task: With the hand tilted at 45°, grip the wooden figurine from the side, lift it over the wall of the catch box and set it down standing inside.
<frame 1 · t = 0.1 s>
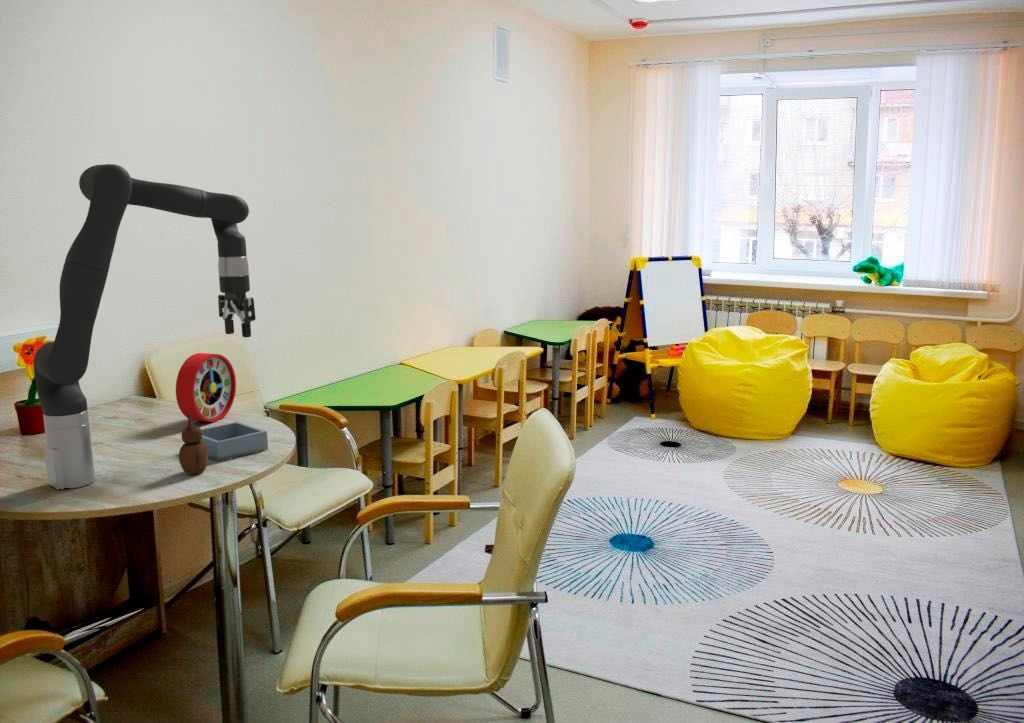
hand: (238, 335, 234), 29 cm above the table, tool pointing down, fingers open, 8 cm apart
toy clock: (209, 420, 264), on the table
catch box: (229, 450, 233), on the table
wooden figurine: (195, 473, 215), on the table
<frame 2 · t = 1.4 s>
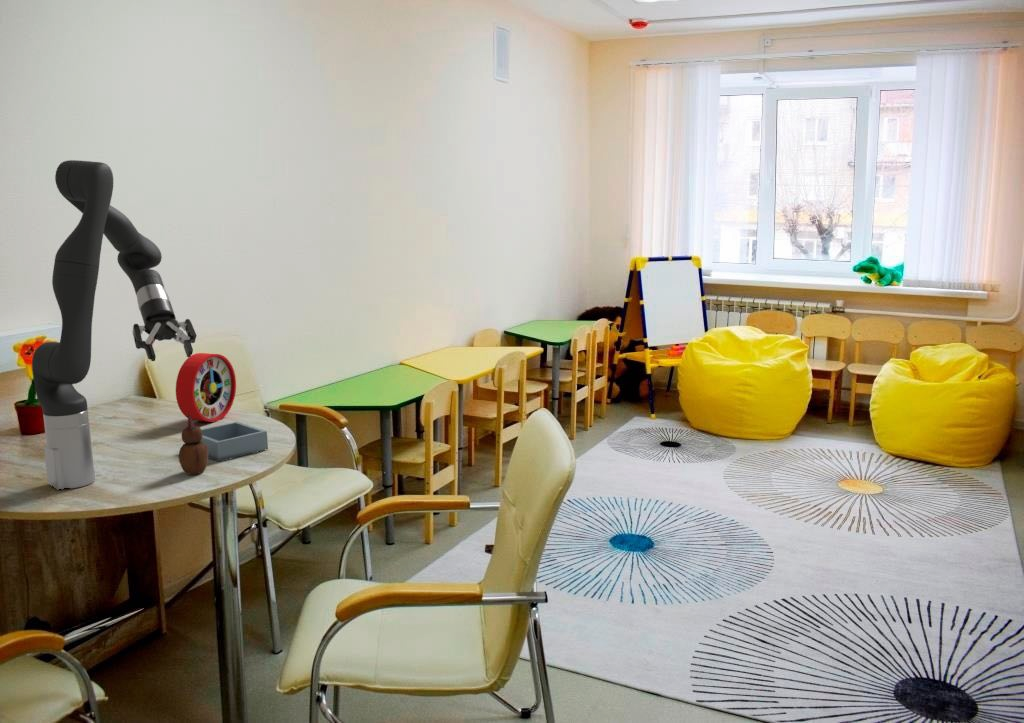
hand: (171, 357, 219), 27 cm above the table, tool tilted 45°, fingers open, 8 cm apart
nothing on the table moved.
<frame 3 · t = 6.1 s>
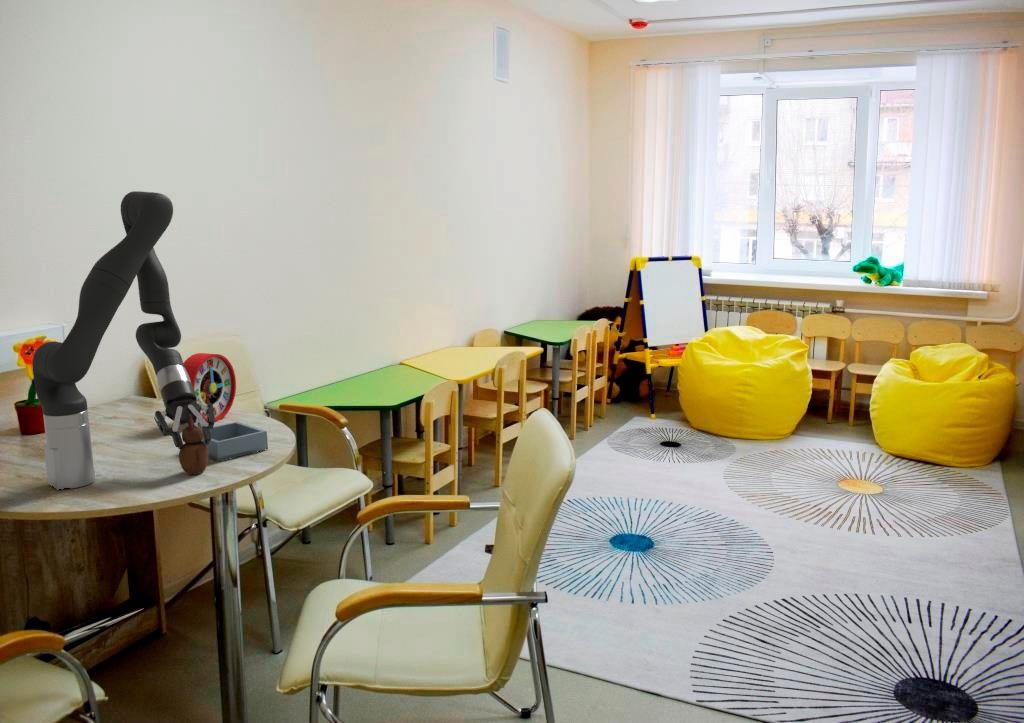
hand: (194, 444, 212), 7 cm above the table, tool tilted 45°, fingers closed on wooden figurine, 5 cm apart
wooden figurine: (195, 472, 215), on the table, touching gripper
everything else where it was.
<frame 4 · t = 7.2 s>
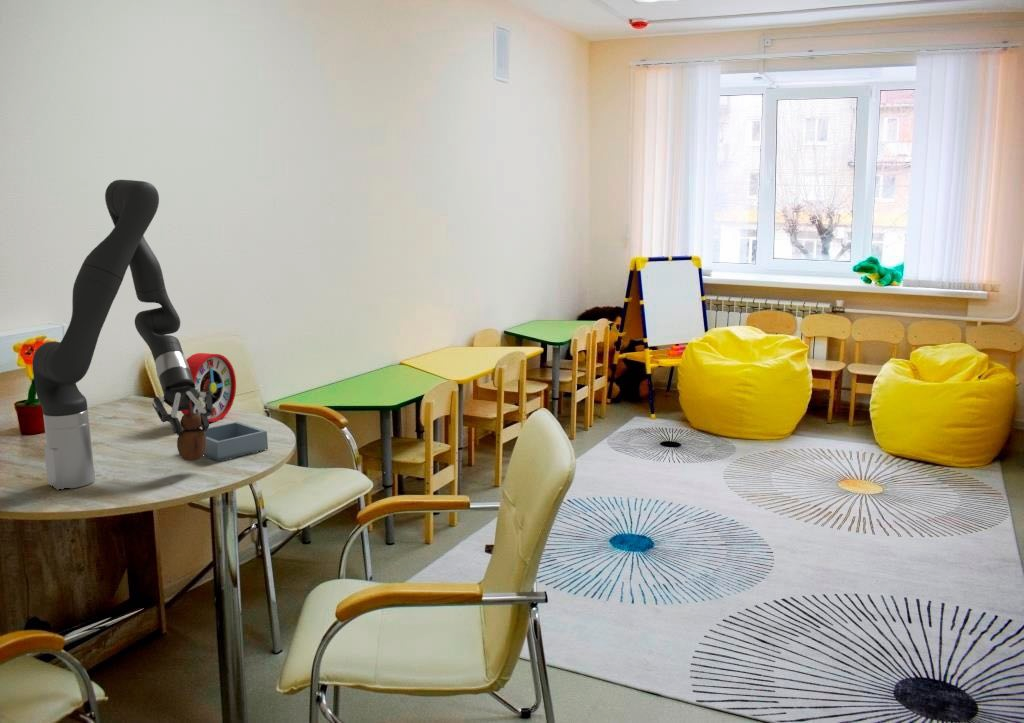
hand: (192, 431, 211), 11 cm above the table, tool tilted 45°, fingers closed on wooden figurine, 5 cm apart
wooden figurine: (192, 460, 214), point 3 cm above the table, touching gripper
everything else where it was.
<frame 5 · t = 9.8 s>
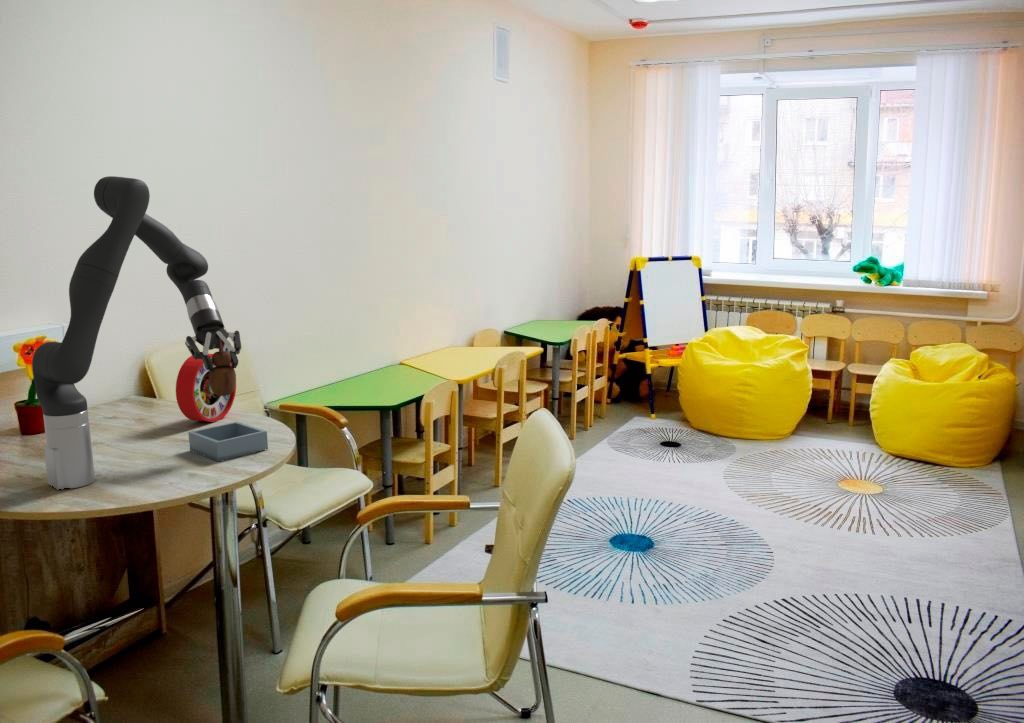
hand: (223, 367, 226), 22 cm above the table, tool tilted 45°, fingers closed on wooden figurine, 5 cm apart
wooden figurine: (223, 395, 229), point 15 cm above the table, touching gripper
everything else where it was.
when the fingers open (10 cm above the table, at t = 12.9 s): wooden figurine drops 1 cm, resting on catch box.
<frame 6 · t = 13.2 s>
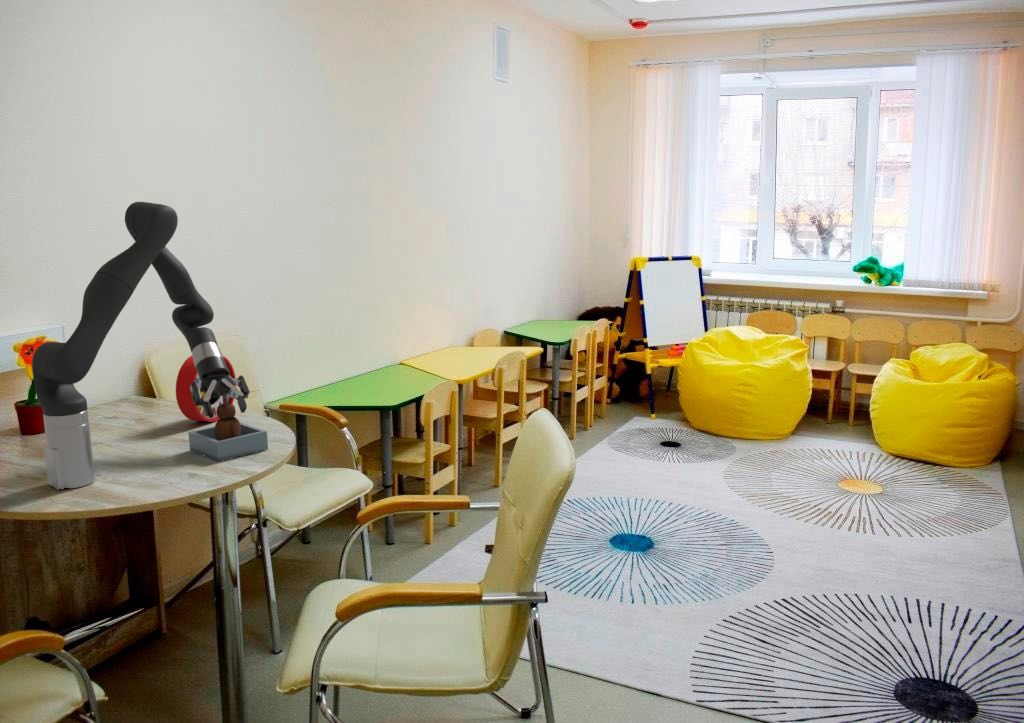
hand: (227, 413, 230), 10 cm above the table, tool tilted 45°, fingers open, 8 cm apart
wooden figurine: (229, 446, 233), point 1 cm above the table, touching catch box
everything else where it was.
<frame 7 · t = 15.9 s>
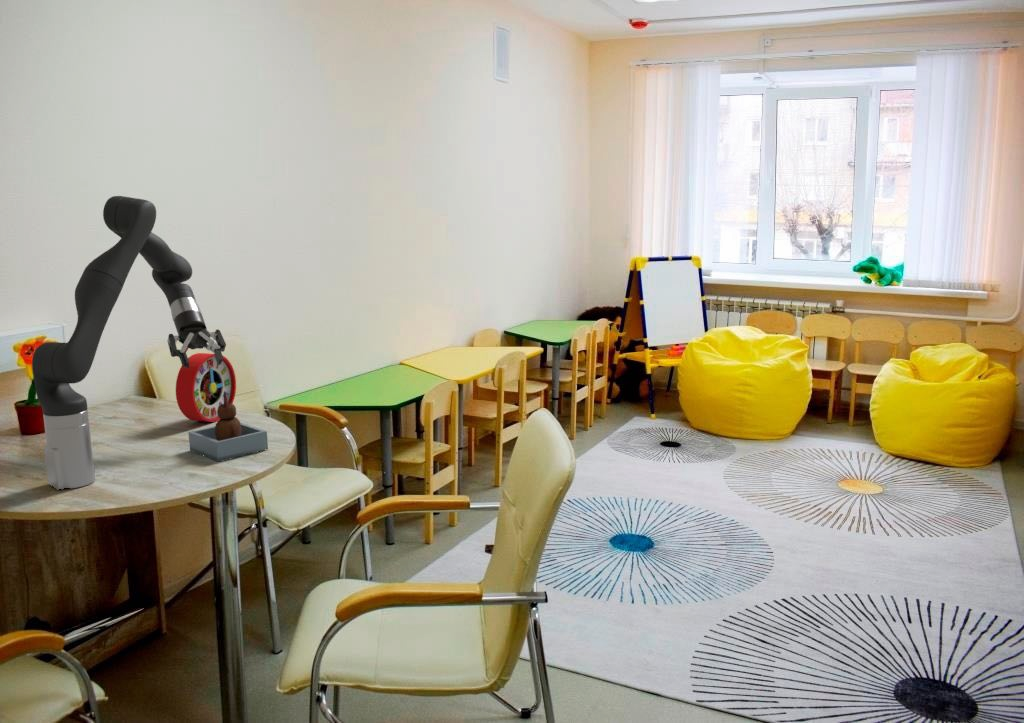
hand: (204, 364, 237), 21 cm above the table, tool tilted 45°, fingers open, 8 cm apart
nothing on the table moved.
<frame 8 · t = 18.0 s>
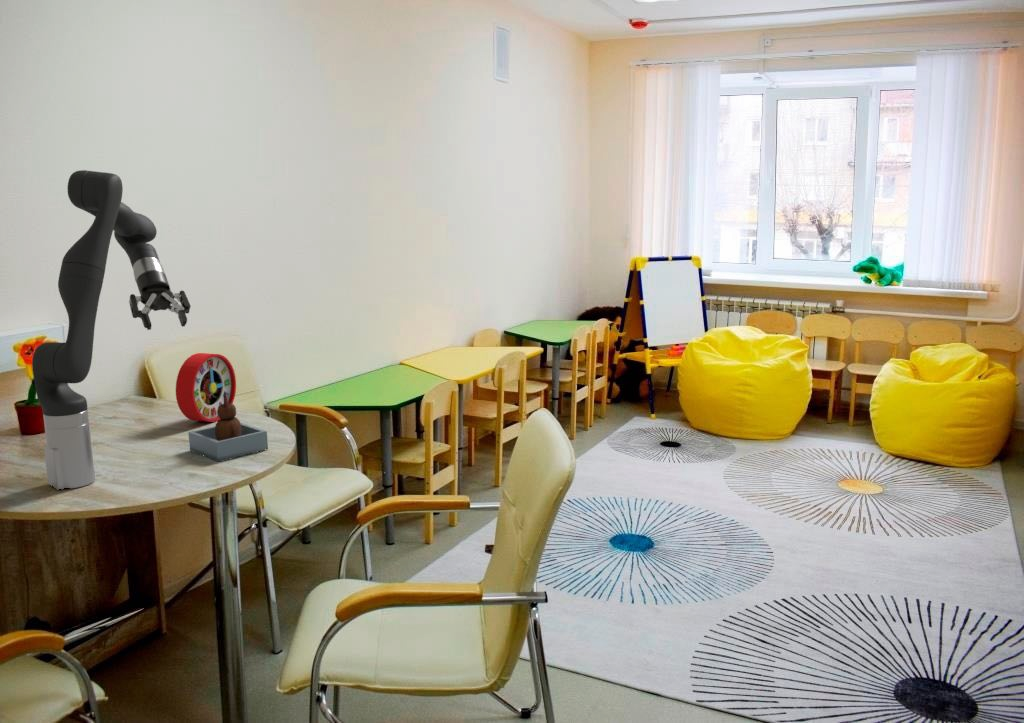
hand: (167, 326, 229), 33 cm above the table, tool tilted 45°, fingers open, 8 cm apart
nothing on the table moved.
at the end: wooden figurine inside the target area on the catch box (0.3 cm from its centre), point 0.8 cm above the catch box's base; wooden figurine tilted 0°; the gripper is holding nothing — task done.
